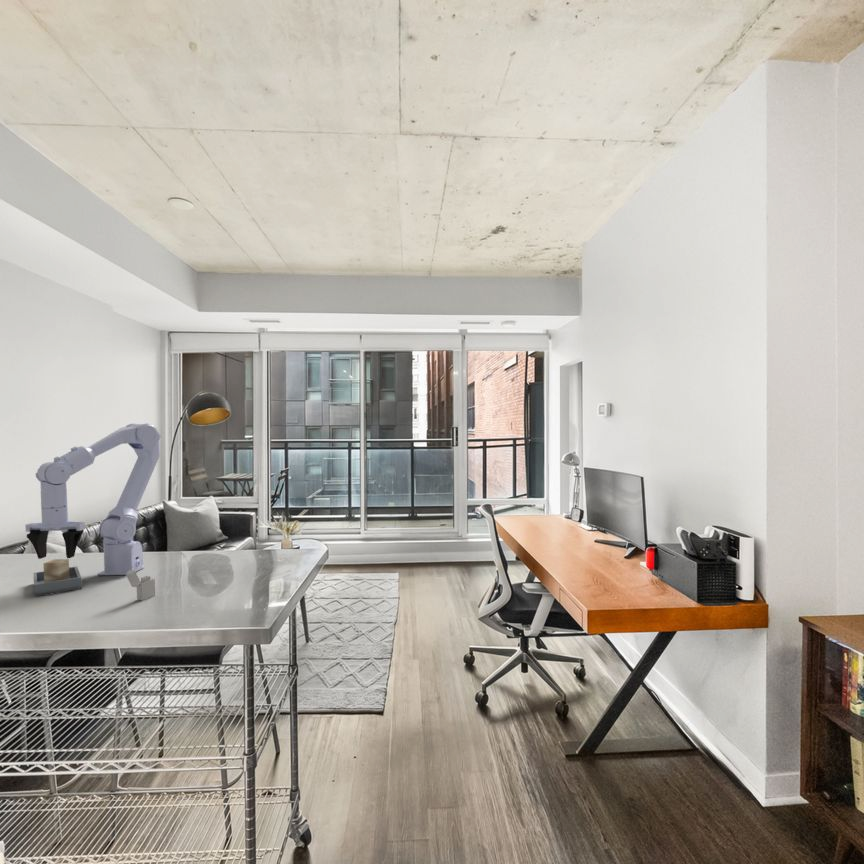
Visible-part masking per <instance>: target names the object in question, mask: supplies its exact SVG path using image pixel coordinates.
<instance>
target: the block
mask: <svg viewBox="0 0 864 864" xmlns="http://www.w3.org/2000/svg"><path fill="white" fill-rule="evenodd" d="M69 562H70V558H59V559H58V558H54V559H52V560H51V559H50V560H48V561H45V562H43V571H44V583H46V582H52V581H58V580H65V579H69V567H70V563H69Z"/></svg>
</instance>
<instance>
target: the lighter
mask: <svg viewBox="0 0 864 864" xmlns="http://www.w3.org/2000/svg"><path fill="white" fill-rule="evenodd" d="M125 576H126V578H127V580H128V582H129V584H130V586H131V587H133V588H136V601H139V600H143V601H145V600H148V599H150V597H151V598H153V597H155V596H156V578H152V577H151V575H146V576H142V577H140V578H139V576H138V574H137V571H136V572H135V571H134V570H129V571H128V572H127V573H126V575H125ZM147 598H148V599H147ZM144 599H145V600H144Z"/></svg>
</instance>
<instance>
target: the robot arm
mask: <svg viewBox="0 0 864 864" xmlns="http://www.w3.org/2000/svg"><path fill="white" fill-rule="evenodd" d="M161 437H162V436H161V434H160V432H159V430H158V428H157V427H156V426H155V425H154V424H152V423H137V424H136V423H129V424H127V425H126V426H123V427H120V428H118V429H116V430H114V431H113V432H111V433H110V434H108V435H107V436H105V437H103V438H101V439H99V440H98V441H96V442H94V443H93V444H91V445H89V446H82V445H80V446H73V447H71V448H70V451H68V452H67V453H65V454H63V455H60V456H55V457H54V458H53V461H47V462H44V463H42V464H41V465H40V466H39V468H37V471H36V472H35V477H36V479H37V481H39V483H40V507H41V508H40V509H41V511H40V512H41V513H40V514H41V522H31V523H27V524H24V525H25V532H26V533H27V532H28V533H27V534H26V538H27V539H28V540H29V542H30V543H31V544H32V546H33V549H34V550H35V552H36V556H37V559H38V560H41V559H43V558H46V557H47V554H48V552H47V551H48V550H47V546H48V545H47V543H48V536H49V532H53V531H60V532H61V531H63V532H62V533H61V535H62V538H63V540H64V541H63V542H64V544H65V555H66V556H65V557H66V559H71V558H73V557H75V555H76V551H77V550H76V549H77V547H78V544H79V541H80V539H81V537H82V535H83V534H84V530H85V529H86V528H85V521H84V522H83V521H82V522H81V521H69V516H68V514H69V513H68V493H67V482H68V481H69V479H70V477H71V476H73V475H75V474H77V473H78V472H81V471H82V470H83V469H86V468H87V467H89V466H91V465H92V464H94V462H95V459H96V457H97V456H100V455H102V454H104V453H107V451H110V450H112V449H114V448H116V447H118V446H120V445H123V444H127V445H129V446H130V447H131V448H132V449H133V451H134V452H135V455H136V456H137V459H136V461H135V463H134V465H133V468H132V470H131V472H130V475H129V476H128V479H127V482H126V483H125V484H124V485H125V486H124V488H123V490H122V492H121V494H120V497H119V498H118V501H117V504H116V506H114V507H113V508H112V509H111V510H110V511H109V512H108V514H107V516H106V517H105V518H104V519H103V520H102V521H101V522H100V524H99V526H98V533H99V534H100V536H101V537H102V538H103V540H102V543H103V564H104V565H103V570H102V571H100V572H98V573H97V576H126V573H127V572H128V571H129V570H134V571H135V572H136V573H137V572H139V571H140V570H142V569H144V568H145V565H144V561H143V559H144V558H143V546H142V543H141V542H140V541H136V540H135V541H134V540H133V538H134V537H135V535H136V531H137V522H138V520H139V517H138V515H137V513H136V511H137V509H138V507H139V505H140V503H141V500H142V498H143V495H144V493H145V491H146V488H147V486H148V484H149V483H150V479H151V477H152V474H153V472H154V471H155V467H156V466H157V463H158V462H159V458H160V439H161ZM64 531H65V532H64Z"/></svg>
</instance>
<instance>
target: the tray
mask: <svg viewBox="0 0 864 864" xmlns="http://www.w3.org/2000/svg"><path fill="white" fill-rule="evenodd" d="M82 587H83V586H82V576H81V573H80V571H79V568H78V566H71V567H70V566H69V579H65V580H58V581H52V582H46V583H44V570H42V571H37V572H33V595H34V597H35V596H37V597H40V596H39V595H42V596H46V595H45V594H48V595H52V594H51V593H54V594H58V593H57V592H60V593H66V592H71V591H70V590H72V591H76V589H78V590H81V589H80V588H82ZM65 591H66V592H65ZM35 598H36V597H35Z"/></svg>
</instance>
